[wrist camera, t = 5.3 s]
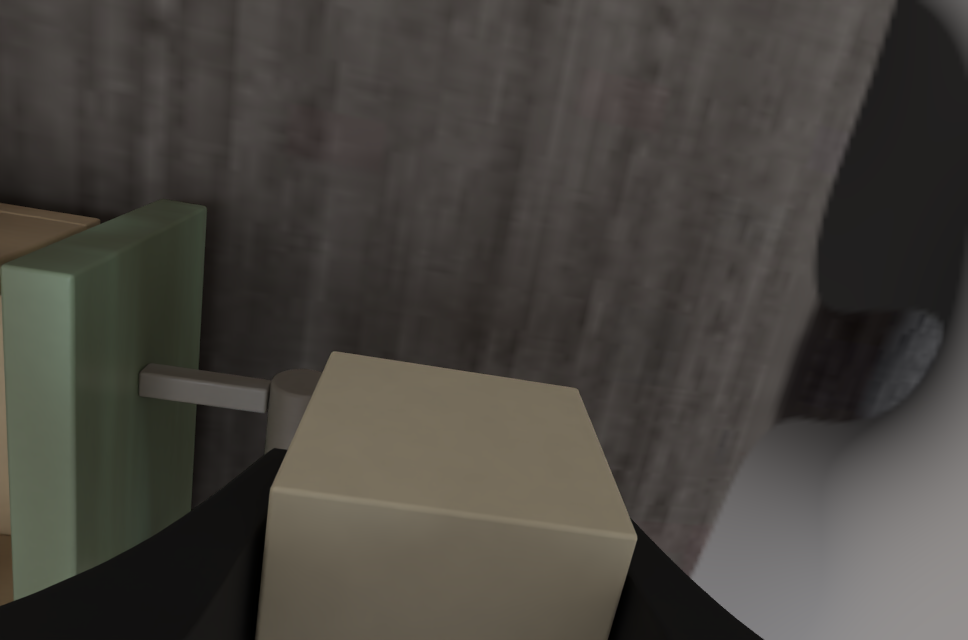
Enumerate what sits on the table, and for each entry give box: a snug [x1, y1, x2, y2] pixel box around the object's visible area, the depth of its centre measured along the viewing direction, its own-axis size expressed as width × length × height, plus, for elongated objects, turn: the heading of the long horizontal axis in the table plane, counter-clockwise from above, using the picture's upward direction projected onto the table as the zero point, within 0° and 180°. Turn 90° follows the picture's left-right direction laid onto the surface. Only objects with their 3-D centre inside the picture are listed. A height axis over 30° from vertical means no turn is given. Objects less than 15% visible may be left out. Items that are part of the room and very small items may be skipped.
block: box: [255, 351, 637, 640], centre depth 11 cm, size 4×4×4 cm
